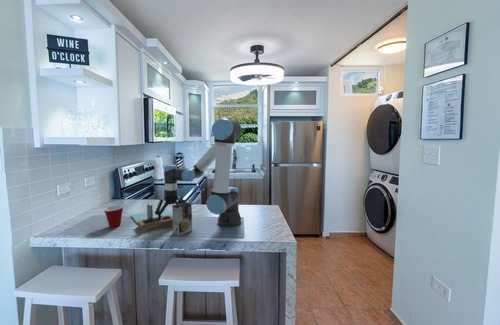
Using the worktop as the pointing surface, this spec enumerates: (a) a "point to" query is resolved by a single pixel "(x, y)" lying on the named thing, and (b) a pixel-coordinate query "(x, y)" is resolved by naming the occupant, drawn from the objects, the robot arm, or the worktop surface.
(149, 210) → the metal post
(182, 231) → the coffee box
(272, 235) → the worktop surface
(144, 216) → the teal pad
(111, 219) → the plastic cup
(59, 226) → the worktop surface
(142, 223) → the walnut link
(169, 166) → the robot arm
